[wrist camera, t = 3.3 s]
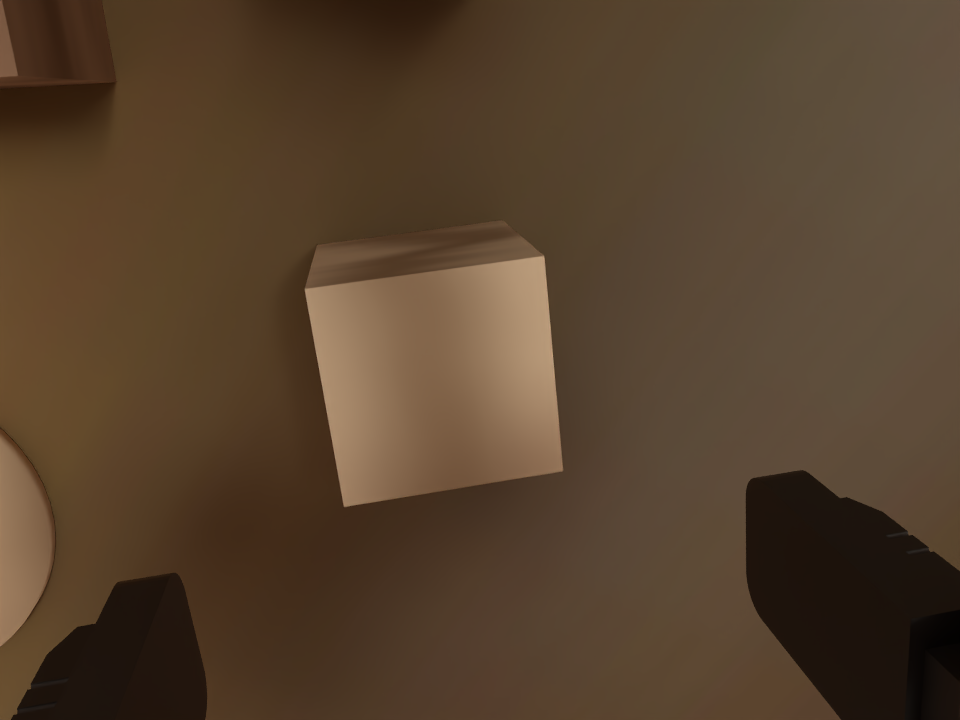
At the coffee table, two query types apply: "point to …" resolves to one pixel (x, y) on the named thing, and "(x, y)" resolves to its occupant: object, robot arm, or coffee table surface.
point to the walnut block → (53, 43)
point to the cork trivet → (22, 537)
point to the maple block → (435, 360)
